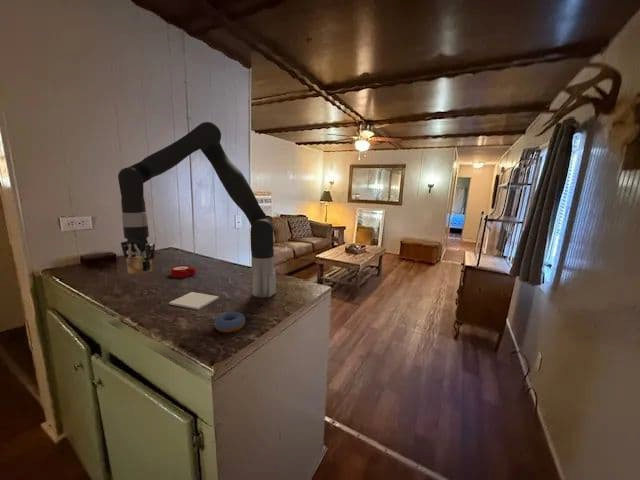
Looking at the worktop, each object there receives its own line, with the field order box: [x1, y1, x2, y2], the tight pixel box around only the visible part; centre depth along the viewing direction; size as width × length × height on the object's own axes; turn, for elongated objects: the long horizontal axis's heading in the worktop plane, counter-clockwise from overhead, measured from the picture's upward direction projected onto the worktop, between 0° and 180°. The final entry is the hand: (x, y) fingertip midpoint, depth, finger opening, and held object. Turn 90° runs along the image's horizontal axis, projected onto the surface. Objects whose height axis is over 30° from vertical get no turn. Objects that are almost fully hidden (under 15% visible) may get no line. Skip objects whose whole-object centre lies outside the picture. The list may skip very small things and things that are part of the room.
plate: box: [168, 291, 220, 311], centre depth 112 cm, size 14×12×1 cm
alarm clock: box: [167, 264, 197, 279], centre depth 144 cm, size 10×6×15 cm
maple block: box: [125, 255, 153, 276], centre depth 102 cm, size 6×6×6 cm
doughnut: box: [213, 311, 246, 334], centre depth 93 cm, size 10×10×5 cm
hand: (140, 269), depth 102 cm, fingers closed on maple block, 5 cm apart
